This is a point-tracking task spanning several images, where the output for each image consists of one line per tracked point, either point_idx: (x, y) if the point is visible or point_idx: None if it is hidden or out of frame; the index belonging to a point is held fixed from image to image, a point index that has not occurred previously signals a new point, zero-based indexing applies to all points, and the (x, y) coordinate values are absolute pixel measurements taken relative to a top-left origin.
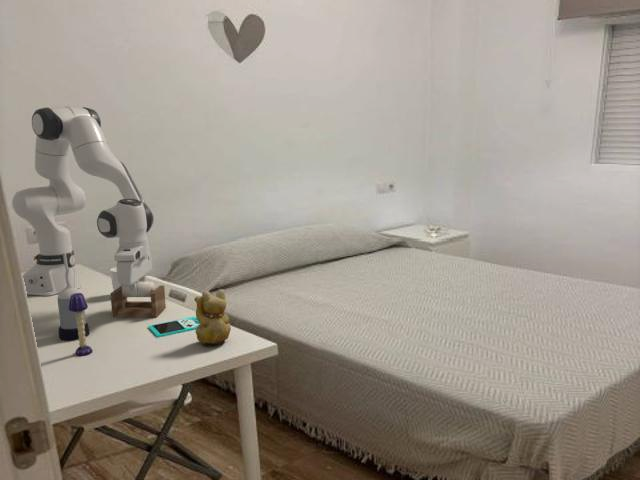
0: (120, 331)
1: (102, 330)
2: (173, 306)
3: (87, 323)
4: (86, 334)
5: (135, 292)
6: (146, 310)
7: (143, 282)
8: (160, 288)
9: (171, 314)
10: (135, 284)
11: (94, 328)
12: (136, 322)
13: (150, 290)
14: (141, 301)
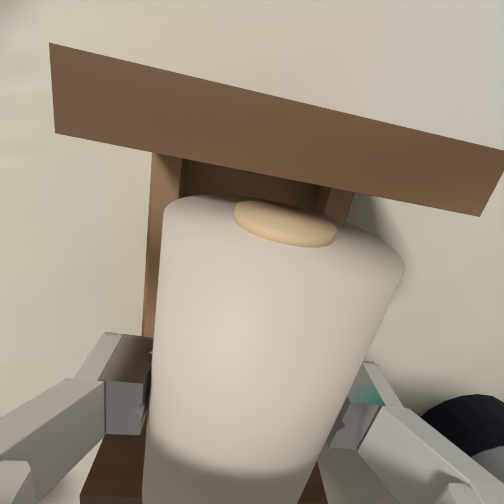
0: (500, 295)
1: (446, 364)
2: (106, 29)
3: (477, 440)
4: (497, 403)
5: (381, 381)
6: (342, 219)
7: (298, 410)
8: (253, 94)
9: (315, 25)
10: (473, 485)
11: (407, 395)
12: (399, 248)
13: (349, 239)
14: (147, 288)
